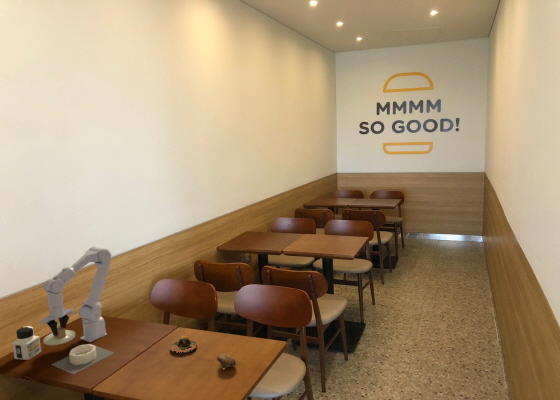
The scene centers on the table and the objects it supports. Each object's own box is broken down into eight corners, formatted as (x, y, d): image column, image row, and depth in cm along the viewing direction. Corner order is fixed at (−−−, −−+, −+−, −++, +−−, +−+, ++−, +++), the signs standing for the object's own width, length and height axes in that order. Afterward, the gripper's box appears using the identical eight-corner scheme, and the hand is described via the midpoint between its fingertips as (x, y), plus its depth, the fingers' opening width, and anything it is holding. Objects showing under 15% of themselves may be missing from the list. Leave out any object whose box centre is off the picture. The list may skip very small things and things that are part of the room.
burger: (165, 353, 193) (163, 338, 191) (180, 341, 203) (179, 326, 202) (187, 358, 188) (186, 342, 187) (202, 345, 199) (201, 330, 198)
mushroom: (217, 368, 173) (222, 352, 175) (211, 366, 180) (216, 351, 182) (235, 374, 175) (239, 358, 177) (228, 372, 182) (233, 357, 184)
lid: (64, 329, 204) (63, 319, 203) (81, 335, 197) (80, 325, 196) (37, 341, 193) (36, 331, 192) (54, 347, 186) (53, 337, 186)
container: (29, 360, 190) (25, 332, 188) (14, 359, 191) (10, 331, 189) (41, 351, 197) (38, 324, 195) (27, 350, 199) (23, 323, 197)
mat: (92, 345, 202) (92, 344, 202) (114, 353, 193) (114, 352, 193) (51, 365, 185) (51, 364, 185) (73, 375, 177) (73, 374, 177)
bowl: (86, 350, 196) (85, 342, 195) (100, 356, 191) (99, 347, 190) (66, 360, 188) (65, 352, 187) (80, 366, 182) (79, 358, 182)
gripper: (66, 298, 201) (69, 325, 203) (34, 309, 189) (38, 338, 191) (75, 300, 197) (78, 328, 199) (43, 312, 185) (47, 341, 187)
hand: (59, 333), depth 195 cm, fingers closed on lid, 3 cm apart
